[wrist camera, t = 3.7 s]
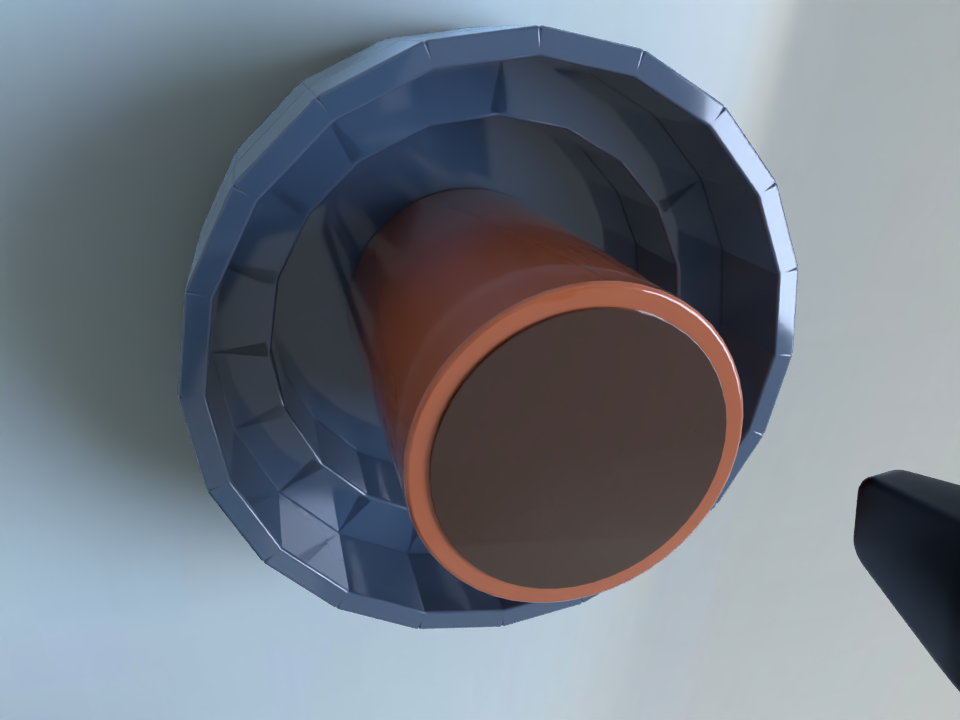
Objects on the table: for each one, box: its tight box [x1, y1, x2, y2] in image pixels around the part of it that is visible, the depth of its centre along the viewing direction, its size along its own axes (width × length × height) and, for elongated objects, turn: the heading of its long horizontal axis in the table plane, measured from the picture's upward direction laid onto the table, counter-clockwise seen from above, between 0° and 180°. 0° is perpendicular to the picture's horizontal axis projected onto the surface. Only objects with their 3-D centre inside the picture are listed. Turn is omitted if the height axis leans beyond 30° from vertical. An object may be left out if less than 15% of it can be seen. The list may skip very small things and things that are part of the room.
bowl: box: [178, 25, 798, 629], centre depth 18 cm, size 13×13×5 cm
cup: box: [348, 188, 743, 603], centre depth 16 cm, size 6×6×8 cm
